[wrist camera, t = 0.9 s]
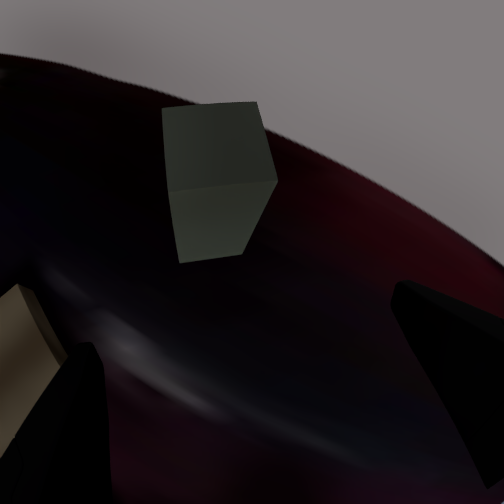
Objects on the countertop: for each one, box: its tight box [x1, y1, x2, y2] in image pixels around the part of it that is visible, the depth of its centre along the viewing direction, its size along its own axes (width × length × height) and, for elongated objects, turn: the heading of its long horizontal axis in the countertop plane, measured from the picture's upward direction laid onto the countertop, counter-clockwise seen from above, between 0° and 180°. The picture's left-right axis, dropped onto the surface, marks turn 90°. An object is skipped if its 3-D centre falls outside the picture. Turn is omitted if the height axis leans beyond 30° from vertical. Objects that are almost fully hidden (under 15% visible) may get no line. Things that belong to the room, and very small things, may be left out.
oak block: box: [0, 284, 68, 458], centre depth 17 cm, size 10×10×3 cm
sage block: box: [162, 102, 278, 263], centre depth 19 cm, size 5×5×11 cm
